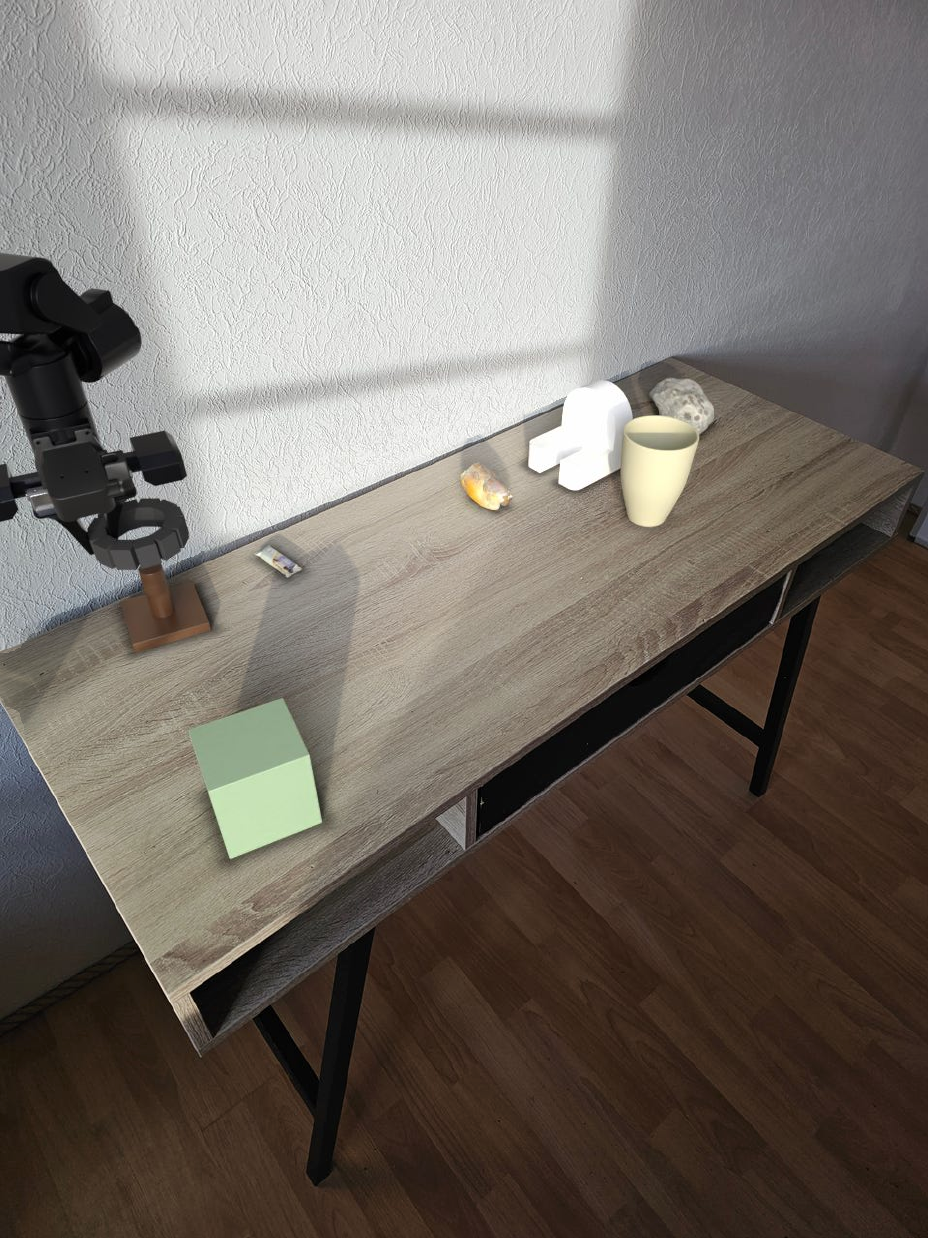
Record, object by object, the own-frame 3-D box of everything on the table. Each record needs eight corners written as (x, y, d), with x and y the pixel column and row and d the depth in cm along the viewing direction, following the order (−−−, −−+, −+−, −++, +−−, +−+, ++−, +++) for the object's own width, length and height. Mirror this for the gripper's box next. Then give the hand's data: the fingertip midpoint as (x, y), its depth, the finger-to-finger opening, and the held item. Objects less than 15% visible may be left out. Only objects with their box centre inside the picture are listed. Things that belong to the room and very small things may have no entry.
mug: (701, 520, 105) (721, 436, 97) (642, 544, 101) (658, 458, 93) (644, 482, 112) (658, 400, 104) (587, 503, 108) (597, 419, 100)
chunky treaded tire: (103, 580, 79) (95, 560, 77) (87, 533, 85) (80, 513, 83) (198, 552, 82) (192, 532, 80) (176, 508, 88) (171, 489, 87)
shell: (522, 503, 109) (521, 485, 104) (499, 526, 108) (497, 510, 103) (478, 469, 111) (475, 451, 107) (455, 491, 110) (452, 474, 106)
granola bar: (254, 556, 99) (252, 549, 98) (270, 548, 100) (268, 541, 99) (288, 581, 95) (286, 574, 95) (304, 572, 96) (303, 565, 96)
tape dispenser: (524, 464, 116) (528, 393, 109) (608, 424, 125) (617, 356, 118) (574, 492, 110) (582, 418, 103) (658, 448, 119) (671, 378, 112)
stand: (135, 653, 86) (116, 600, 81) (122, 609, 91) (104, 557, 87) (211, 630, 89) (197, 578, 84) (194, 589, 94) (180, 537, 90)
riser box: (230, 859, 67) (208, 792, 62) (209, 797, 72) (187, 729, 66) (322, 823, 70) (310, 754, 64) (296, 765, 75) (283, 697, 69)
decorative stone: (628, 410, 128) (632, 379, 125) (679, 393, 133) (684, 364, 130) (682, 442, 121) (689, 411, 117) (735, 424, 125) (742, 393, 122)
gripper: (-65, 471, 63) (8, 624, 73) (180, 421, 69) (216, 568, 80) (-67, 412, 71) (-1, 558, 81) (154, 371, 77) (190, 511, 87)
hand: (103, 549), depth 82 cm, fingers closed on chunky treaded tire, 2 cm apart
